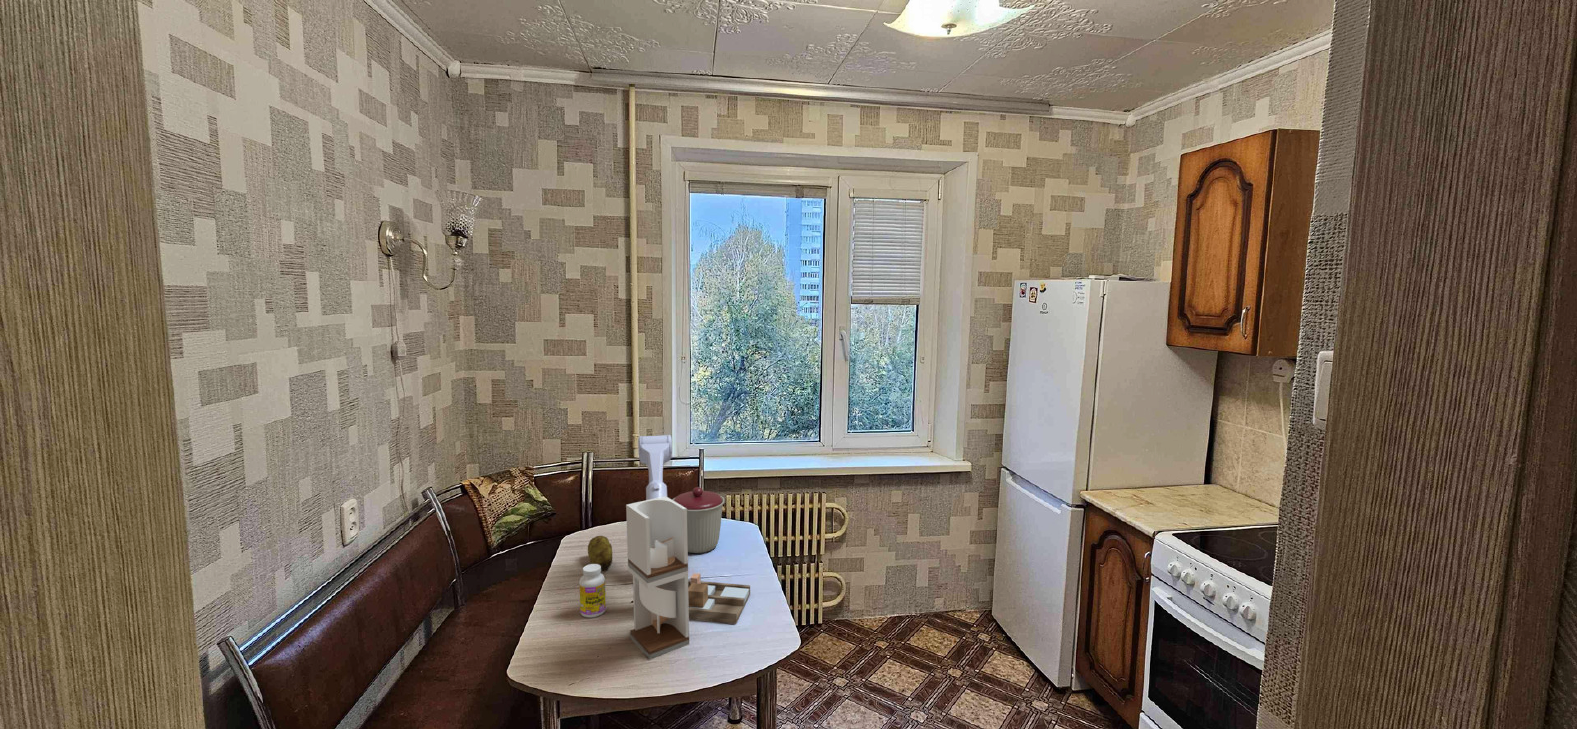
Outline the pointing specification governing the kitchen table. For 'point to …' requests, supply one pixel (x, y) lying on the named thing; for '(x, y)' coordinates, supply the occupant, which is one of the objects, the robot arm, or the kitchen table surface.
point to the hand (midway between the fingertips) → (659, 596)
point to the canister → (702, 518)
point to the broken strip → (726, 592)
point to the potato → (600, 552)
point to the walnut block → (698, 595)
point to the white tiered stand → (658, 574)
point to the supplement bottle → (592, 591)
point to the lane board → (720, 605)
